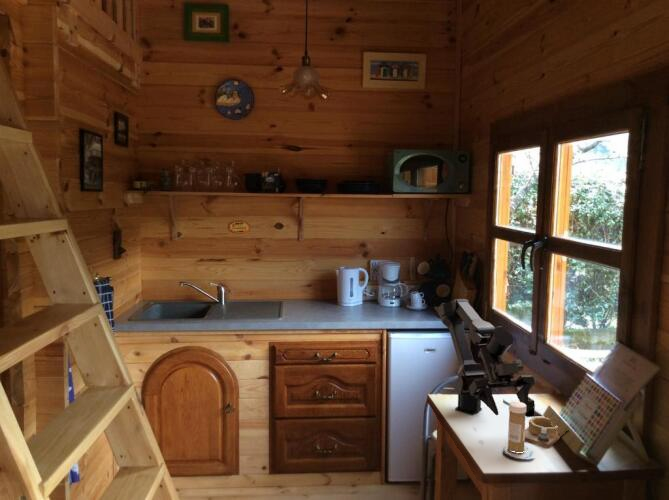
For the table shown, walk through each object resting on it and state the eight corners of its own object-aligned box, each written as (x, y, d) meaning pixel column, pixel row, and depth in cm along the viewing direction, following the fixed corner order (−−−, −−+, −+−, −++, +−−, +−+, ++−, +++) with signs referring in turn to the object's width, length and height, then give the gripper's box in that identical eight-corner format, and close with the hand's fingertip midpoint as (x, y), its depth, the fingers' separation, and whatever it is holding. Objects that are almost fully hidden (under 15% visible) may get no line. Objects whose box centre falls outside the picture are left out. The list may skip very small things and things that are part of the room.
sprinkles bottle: (527, 451, 154) (530, 404, 152) (517, 455, 151) (519, 408, 150) (514, 445, 158) (516, 399, 156) (503, 449, 155) (505, 402, 154)
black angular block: (547, 419, 177) (548, 405, 177) (527, 421, 176) (527, 407, 175) (525, 404, 189) (526, 391, 189) (506, 406, 188) (507, 393, 187)
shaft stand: (517, 438, 162) (518, 426, 162) (540, 421, 174) (540, 410, 174) (548, 447, 156) (548, 435, 156) (569, 429, 168) (570, 418, 168)
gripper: (474, 351, 157) (492, 403, 148) (533, 348, 161) (555, 398, 152) (461, 370, 166) (477, 420, 156) (518, 366, 170) (537, 415, 160)
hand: (512, 413), depth 156 cm, fingers open, 9 cm apart
